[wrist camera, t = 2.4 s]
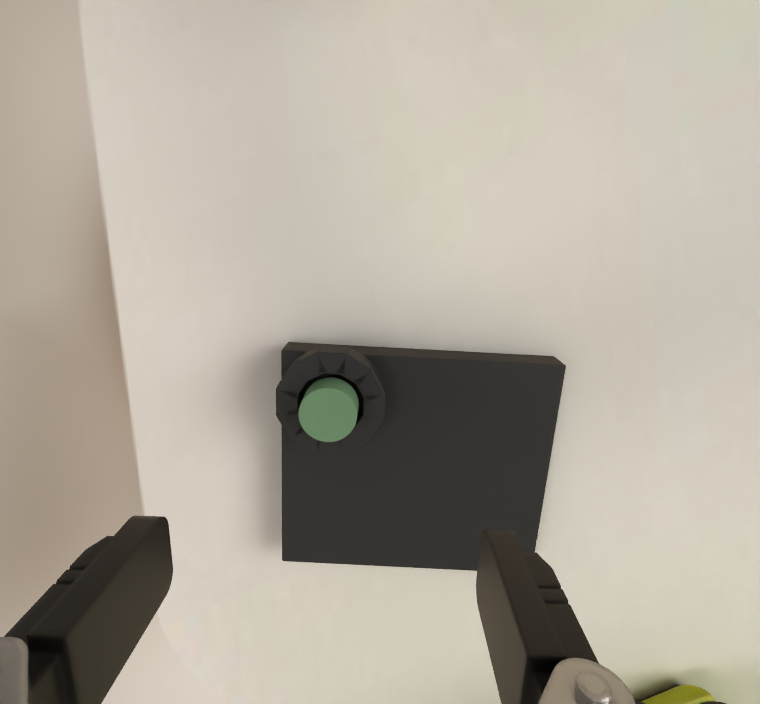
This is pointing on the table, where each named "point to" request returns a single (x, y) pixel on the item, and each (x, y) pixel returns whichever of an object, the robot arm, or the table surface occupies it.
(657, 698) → the flower pot
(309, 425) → the button
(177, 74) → the table surface
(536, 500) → the scale
